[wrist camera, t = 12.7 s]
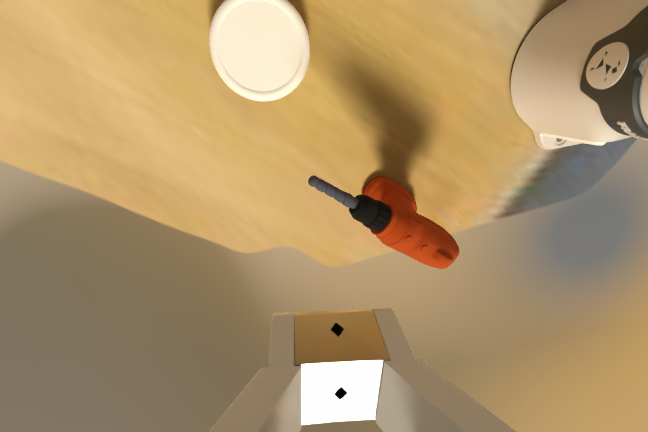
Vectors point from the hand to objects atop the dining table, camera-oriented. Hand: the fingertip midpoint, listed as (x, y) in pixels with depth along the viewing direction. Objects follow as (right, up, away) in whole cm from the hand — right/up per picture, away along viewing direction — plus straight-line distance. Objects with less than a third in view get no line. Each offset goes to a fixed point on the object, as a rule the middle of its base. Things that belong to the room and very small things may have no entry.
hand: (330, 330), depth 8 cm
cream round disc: (-7, +21, +26) cm, 34 cm away
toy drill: (+5, +7, +34) cm, 35 cm away
